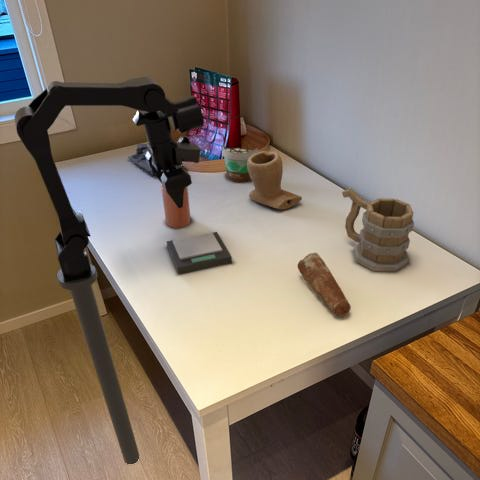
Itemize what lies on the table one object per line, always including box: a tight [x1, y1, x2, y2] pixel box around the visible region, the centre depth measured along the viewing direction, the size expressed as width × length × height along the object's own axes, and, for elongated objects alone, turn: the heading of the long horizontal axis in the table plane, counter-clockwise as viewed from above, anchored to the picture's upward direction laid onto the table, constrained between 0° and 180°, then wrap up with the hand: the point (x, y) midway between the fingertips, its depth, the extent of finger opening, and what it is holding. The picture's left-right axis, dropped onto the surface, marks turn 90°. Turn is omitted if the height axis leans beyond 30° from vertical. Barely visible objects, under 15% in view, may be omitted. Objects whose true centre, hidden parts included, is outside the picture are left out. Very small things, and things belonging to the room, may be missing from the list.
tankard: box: [341, 188, 415, 272], centre depth 121 cm, size 20×13×15 cm, turn 41°
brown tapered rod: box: [297, 252, 351, 317], centre depth 111 cm, size 6×19×6 cm, turn 16°
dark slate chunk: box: [127, 142, 187, 176], centre depth 169 cm, size 15×22×5 cm
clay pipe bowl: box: [247, 150, 303, 210], centre depth 142 cm, size 15×12×15 cm
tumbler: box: [160, 184, 192, 229], centre depth 136 cm, size 7×7×11 cm
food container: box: [221, 144, 260, 183], centre depth 157 cm, size 12×6×10 cm, turn 73°
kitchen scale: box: [165, 231, 233, 275], centre depth 126 cm, size 14×13×3 cm
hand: (175, 199), depth 121 cm, fingers open, 9 cm apart
